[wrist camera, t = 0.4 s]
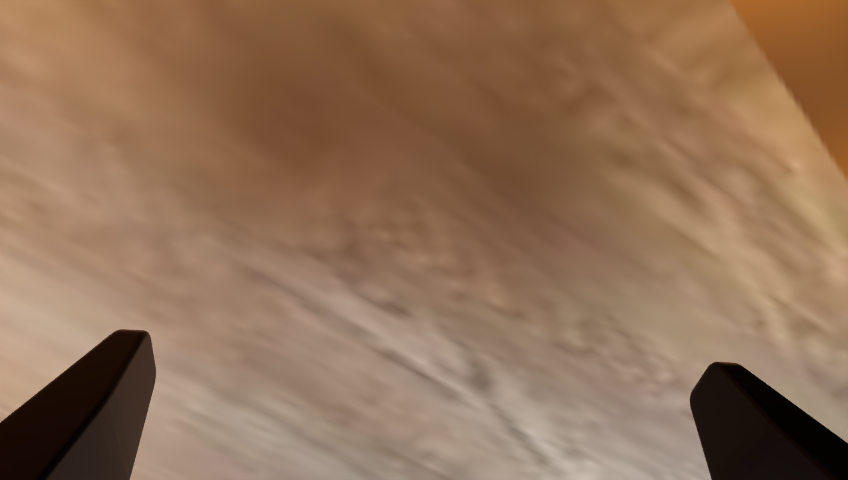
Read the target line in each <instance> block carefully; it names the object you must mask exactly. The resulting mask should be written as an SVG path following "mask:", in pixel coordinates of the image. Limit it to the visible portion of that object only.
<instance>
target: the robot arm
mask: <svg viewBox="0 0 848 480" xmlns="http://www.w3.org/2000/svg"><path fill="white" fill-rule="evenodd" d="M155 378H156V367H155V361H154V355H153V348H152V342H151V337H150V335H149V333H148V332H146V331H143V330H125V329H121V330H117V331H115V332H113V333H112V334H111V335H109V336H108V337H107V338H106V339H104V340H103V341H102V342H101V343H99V344H98V345H97V346H96V347H94V348H93V349H92V350H91V351H89V352H88V353H87V354H86V355H84V356H83V357H82V358H81V359H79V360H78V361H77V362H76V363H74V364H73V365H72V366H71V367H69V368H68V369H67V370H66V371H64V372H63V373H62V374H61V375H59V376H58V377H57V378H56V379H54V380H53V381H52V382H51V383H49V384H48V385H47V386H46V387H44V388H43V389H42V390H41V391H39V392H38V393H37V394H36V395H34V396H33V397H32V398H31V399H29V400H28V401H27V402H26V403H24V404H23V405H22V406H21V407H19V408H18V409H17V410H15V411H14V412H13V413H12V414H10V415H9V416H8V417H7V418H5V419H4V420H3V421H2V422H0V480H130V476H131V473H132V469H133V465H134V462H135V458H136V454H137V450H138V446H139V442H140V438H141V435H142V431H143V427H144V423H145V419H146V415H147V412H148V408H149V404H150V400H151V396H152V392H153V388H154V384H155ZM690 407H691V410H692V414H693V417H694V421H695V424H696V428H697V431H698V434H699V438H700V441H701V445H702V448H703V451H704V455H705V458H706V462H707V465H708V469H709V472H710V475H711V479H712V480H848V443H847V442H845V441H844V440H842V439H841V438H840V437H838V436H837V435H836V434H834V433H833V432H832V431H830V430H829V429H827V428H826V427H825V426H823V425H822V424H821V423H819V422H818V421H817V420H815V419H814V418H812V417H811V416H810V415H808V414H807V413H806V412H804V411H803V410H801V409H800V408H799V407H797V406H796V405H795V404H793V403H792V402H791V401H789V400H788V399H786V398H785V397H784V396H782V395H781V394H780V393H778V392H777V391H775V390H774V389H773V388H771V387H770V386H769V385H767V384H766V383H765V382H763V381H762V380H760V379H759V378H758V377H756V376H755V375H754V374H752V373H751V372H750V371H748V370H747V369H745V368H744V367H743V366H741V365H739V364H737V363H729V362H714V363H712V364H710V365H709V366H708V368H707V369H706V371H705V372H704V374H703V375H702V377H701V378H700V380H699V381H698V383H697V384H696V386H695V387H694V389H693V390H692V392H691V395H690Z"/></svg>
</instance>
